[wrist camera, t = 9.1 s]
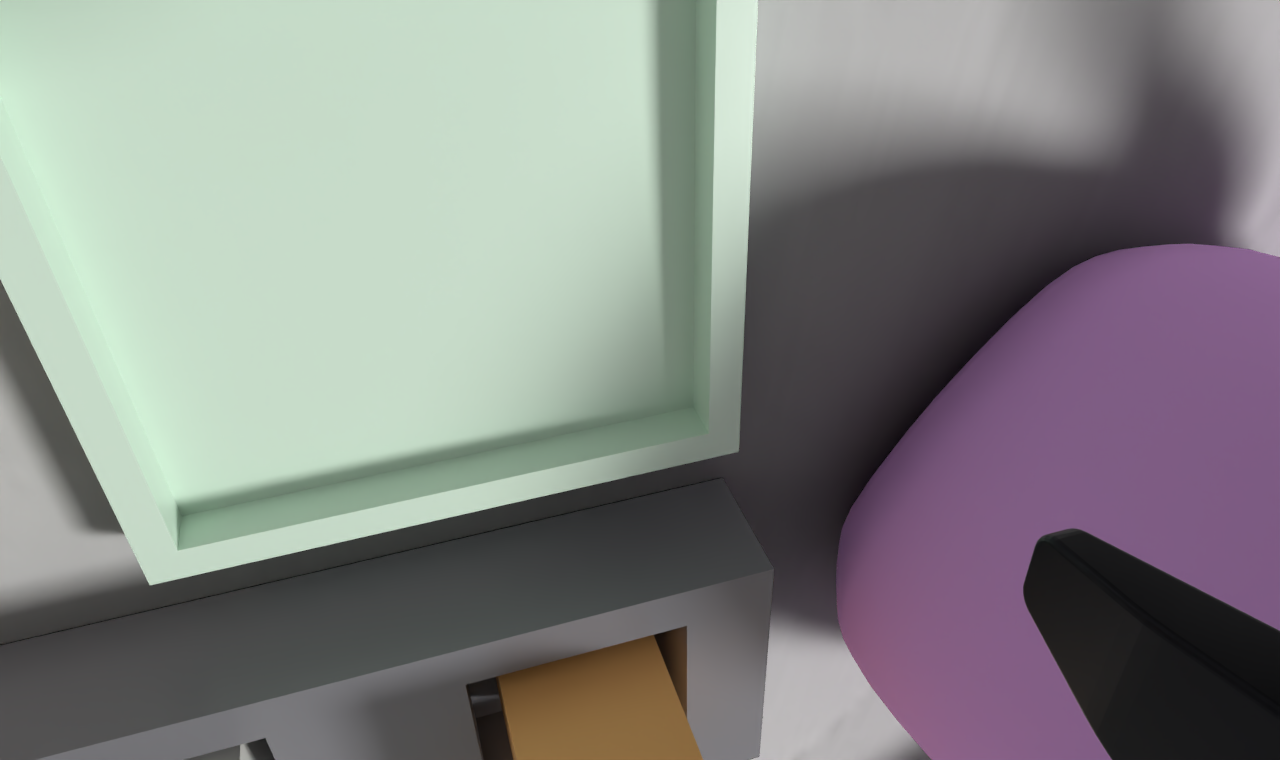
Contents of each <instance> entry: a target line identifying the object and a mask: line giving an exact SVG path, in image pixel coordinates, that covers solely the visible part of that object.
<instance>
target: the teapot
mask: <svg viewBox="0 0 1280 760" xmlns="http://www.w3.org/2000/svg"><path fill="white" fill-rule="evenodd" d="M1070 528H1076V529H1080V530H1083V531H1086V532H1088V533H1090V534H1092V535H1094V536H1096V537H1098V538H1100V539H1101V540H1103V541H1105V542H1107V543H1109V544H1111V545H1113V546H1115V547H1117V548H1119V549H1121V550H1123V551H1125V552H1127V553H1129V554H1131V555H1133V556H1135V557H1137V558H1139V559H1141V560H1143V561H1145V562H1147V563H1149V564H1151V565H1152V566H1154V567H1156V568H1158V569H1160V570H1162V571H1164V572H1166V573H1168V574H1170V575H1172V576H1174V577H1176V578H1178V579H1180V580H1182V581H1184V582H1186V583H1188V584H1190V585H1192V586H1194V587H1196V588H1198V589H1200V590H1202V591H1203V592H1205V593H1207V594H1209V595H1211V596H1213V597H1215V598H1217V599H1219V600H1221V601H1223V602H1225V603H1227V604H1229V605H1231V606H1233V607H1235V608H1237V609H1239V610H1241V611H1243V612H1245V613H1247V614H1249V615H1251V616H1252V617H1254V618H1256V619H1258V620H1260V621H1262V622H1264V623H1266V624H1268V625H1270V626H1272V627H1274V628H1276V629H1278V630H1280V257H1276V256H1272V255H1269V254H1265V253H1261V252H1257V251H1253V250H1250V249H1242V248H1233V247H1223V246H1214V245H1201V244H1167V245H1156V246H1145V247H1137V248H1130V249H1120V250H1116V251H1113V252H1109V253H1105V254H1102V255H1098V256H1095V257H1093V258H1091V259H1089V260H1087V261H1085V262H1082V263H1080V264H1078V265H1076V266H1074V267H1072V268H1071V269H1070V270H1068V271H1067V272H1065V273H1064V274H1062V275H1061V276H1060V277H1058V278H1057V279H1055V280H1054V281H1053V282H1051V283H1050V284H1048V285H1047V286H1046V287H1045V288H1044V289H1042V290H1041V291H1040V292H1039V293H1038V294H1037V295H1036V296H1035V297H1034V298H1032V299H1031V300H1030V301H1029V302H1028V303H1027V304H1026V305H1025V306H1024V307H1022V308H1021V309H1020V310H1019V311H1018V312H1017V313H1016V314H1015V315H1014V316H1012V317H1011V318H1010V319H1009V320H1008V321H1007V322H1006V323H1005V324H1004V325H1003V326H1002V327H1001V329H1000V330H999V331H998V332H997V333H996V334H995V335H994V336H993V337H992V338H991V339H990V340H989V341H988V342H987V343H986V344H985V345H984V346H983V347H982V348H981V349H980V350H979V351H978V352H977V353H976V354H975V355H974V356H973V357H972V358H971V359H970V360H969V361H968V362H967V363H966V364H965V366H964V367H963V368H962V369H961V370H960V371H959V372H958V373H957V374H956V375H955V376H954V378H953V379H952V380H951V381H950V382H949V383H948V384H947V385H946V386H945V387H944V388H943V389H942V391H941V392H940V393H939V394H938V395H937V396H936V397H935V398H934V400H933V401H932V402H931V403H930V404H929V406H928V407H927V408H926V409H925V410H924V411H923V413H922V414H921V415H920V416H919V417H918V419H917V420H916V421H915V422H914V423H913V425H912V426H911V427H910V428H909V429H908V431H907V432H906V433H905V434H904V436H903V437H902V438H901V439H900V441H899V442H898V443H897V445H896V446H895V447H894V448H893V450H892V451H891V452H890V454H889V455H888V456H887V457H886V459H885V460H884V461H883V463H882V464H881V465H880V467H879V468H878V469H877V470H876V472H875V473H874V474H873V476H872V477H871V479H870V480H869V482H868V483H867V485H866V486H865V488H864V489H863V491H862V492H861V494H860V495H859V497H858V498H857V500H856V501H855V503H854V504H853V506H852V507H851V509H850V511H849V514H848V516H847V518H846V520H845V522H844V525H843V527H842V530H841V536H840V542H839V550H838V558H837V570H836V594H837V613H838V622H839V625H840V629H841V632H842V636H843V639H844V641H845V643H846V645H847V647H848V649H849V651H850V653H851V654H852V656H853V658H854V660H855V661H856V663H857V664H858V666H859V668H860V669H861V671H862V673H863V674H864V676H865V677H866V679H867V681H868V682H869V684H870V685H871V687H872V688H873V690H874V691H875V692H876V694H877V695H878V696H879V697H880V699H881V700H882V701H883V703H884V704H885V705H886V706H887V708H888V709H889V710H890V712H891V713H892V714H893V715H894V717H895V718H896V719H897V721H898V722H899V723H900V724H901V725H902V726H903V727H904V729H905V730H906V731H907V732H908V733H909V734H910V736H911V737H912V738H913V739H914V740H915V741H916V742H917V744H918V745H919V746H920V747H921V748H922V749H923V751H924V752H925V753H926V754H927V755H928V756H929V757H930V758H931V759H932V760H1112V759H1111V758H1110V756H1109V755H1108V753H1107V752H1106V750H1105V749H1104V747H1103V745H1102V744H1101V742H1100V741H1099V739H1098V738H1097V736H1096V735H1095V733H1094V731H1093V729H1092V728H1091V726H1090V724H1089V722H1088V721H1087V719H1086V717H1085V715H1084V714H1083V712H1082V710H1081V708H1080V706H1079V704H1078V702H1077V701H1076V699H1075V697H1074V695H1073V693H1072V691H1071V689H1070V688H1069V686H1068V684H1067V682H1066V680H1065V678H1064V676H1063V674H1062V673H1061V671H1060V669H1059V667H1058V665H1057V663H1056V661H1055V660H1054V658H1053V656H1052V654H1051V652H1050V650H1049V648H1048V646H1047V645H1046V643H1045V641H1044V639H1043V637H1042V635H1041V633H1040V632H1039V630H1038V628H1037V626H1036V624H1035V622H1034V620H1033V618H1032V617H1031V615H1030V613H1029V611H1028V609H1027V606H1026V604H1025V601H1024V595H1023V585H1024V581H1025V577H1026V574H1027V571H1028V568H1029V564H1030V561H1031V558H1032V554H1033V551H1034V548H1035V545H1036V542H1037V541H1038V539H1039V538H1041V537H1042V536H1043V535H1046V534H1050V533H1054V532H1057V531H1061V530H1065V529H1070Z"/></svg>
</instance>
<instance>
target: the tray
mask: <svg viewBox="0 0 1280 760" xmlns="http://www.w3.org/2000/svg"><path fill="white" fill-rule="evenodd" d="M757 17H758V0H0V280H1V282H2V284H3V286H4V288H5V290H6V292H7V294H8V296H9V298H10V300H11V302H12V304H13V306H14V308H15V310H16V313H17V315H18V317H19V319H20V321H21V323H22V325H23V327H24V329H25V331H26V333H27V335H28V337H29V339H30V341H31V343H32V345H33V347H34V349H35V351H36V353H37V356H38V358H39V360H40V362H41V364H42V366H43V368H44V370H45V372H46V374H47V376H48V378H49V380H50V382H51V384H52V386H53V388H54V390H55V392H56V394H57V396H58V399H59V401H60V403H61V405H62V407H63V409H64V411H65V413H66V415H67V417H68V419H69V421H70V423H71V425H72V427H73V429H74V431H75V433H76V435H77V437H78V440H79V442H80V444H81V446H82V448H83V450H84V452H85V454H86V456H87V458H88V460H89V462H90V464H91V466H92V468H93V470H94V472H95V474H96V476H97V478H98V480H99V483H100V485H101V487H102V489H103V491H104V493H105V495H106V497H107V499H108V501H109V503H110V505H111V507H112V509H113V511H114V513H115V515H116V517H117V519H118V521H119V523H120V526H121V528H122V530H123V532H124V534H125V536H126V538H127V540H128V542H129V544H130V546H131V548H132V550H133V552H134V554H135V556H136V558H137V560H138V562H139V564H140V566H141V569H142V571H143V573H144V575H145V577H146V579H147V581H148V583H149V585H154V584H159V583H163V582H167V581H172V580H176V579H181V578H185V577H190V576H194V575H198V574H203V573H207V572H212V571H216V570H220V569H225V568H229V567H234V566H238V565H242V564H247V563H251V562H256V561H260V560H264V559H269V558H273V557H278V556H282V555H287V554H291V553H295V552H300V551H304V550H309V549H313V548H317V547H322V546H326V545H331V544H335V543H339V542H344V541H348V540H353V539H357V538H361V537H366V536H370V535H375V534H379V533H383V532H388V531H392V530H397V529H401V528H406V527H410V526H414V525H419V524H423V523H428V522H432V521H436V520H441V519H445V518H450V517H454V516H458V515H463V514H467V513H472V512H476V511H480V510H485V509H489V508H494V507H498V506H503V505H507V504H511V503H516V502H520V501H525V500H529V499H533V498H538V497H542V496H547V495H551V494H555V493H560V492H564V491H569V490H573V489H577V488H582V487H586V486H591V485H595V484H600V483H604V482H608V481H613V480H617V479H622V478H626V477H630V476H635V475H639V474H644V473H648V472H652V471H657V470H661V469H666V468H670V467H674V466H679V465H683V464H688V463H692V462H697V461H701V460H705V459H710V458H714V457H719V456H723V455H727V454H732V453H736V452H739V438H740V414H741V391H742V367H743V344H744V321H745V297H746V274H747V250H748V227H749V204H750V180H751V157H752V134H753V110H754V87H755V63H756V40H757Z"/></svg>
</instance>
